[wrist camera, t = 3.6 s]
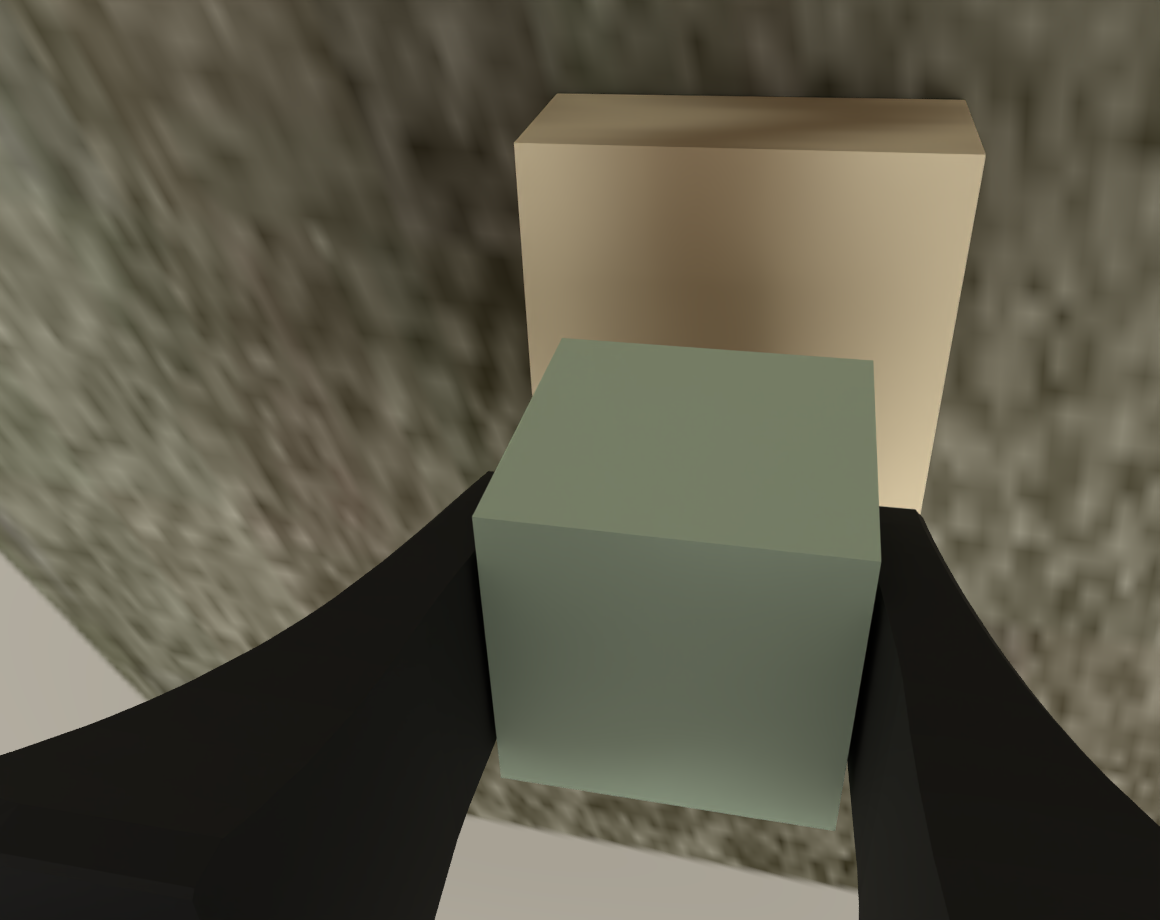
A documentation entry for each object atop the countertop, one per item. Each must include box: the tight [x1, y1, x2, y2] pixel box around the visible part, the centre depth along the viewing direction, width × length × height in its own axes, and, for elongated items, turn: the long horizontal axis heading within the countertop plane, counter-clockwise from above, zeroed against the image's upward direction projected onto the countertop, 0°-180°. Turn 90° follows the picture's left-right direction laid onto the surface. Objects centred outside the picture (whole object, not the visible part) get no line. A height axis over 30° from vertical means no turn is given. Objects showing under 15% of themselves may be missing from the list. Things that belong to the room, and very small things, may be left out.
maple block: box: [514, 93, 986, 514], centre depth 18 cm, size 7×7×3 cm
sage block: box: [472, 338, 881, 831], centre depth 13 cm, size 4×4×4 cm
